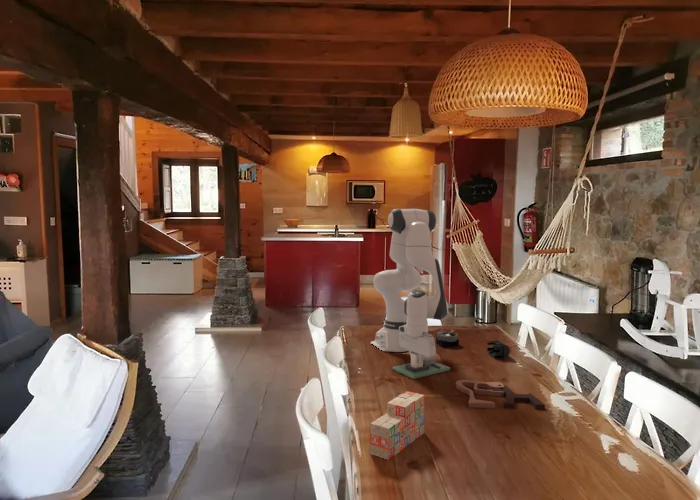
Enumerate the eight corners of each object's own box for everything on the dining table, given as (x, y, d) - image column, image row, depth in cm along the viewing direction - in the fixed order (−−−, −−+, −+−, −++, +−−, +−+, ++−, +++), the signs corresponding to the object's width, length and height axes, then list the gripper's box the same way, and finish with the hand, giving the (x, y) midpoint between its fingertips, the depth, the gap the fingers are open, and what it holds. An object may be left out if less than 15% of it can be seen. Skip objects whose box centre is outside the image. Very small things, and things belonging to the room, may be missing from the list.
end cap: (510, 359, 234) (510, 344, 234) (495, 359, 233) (495, 345, 233) (501, 352, 244) (501, 338, 243) (486, 353, 243) (486, 339, 243)
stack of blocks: (388, 461, 141) (388, 417, 140) (369, 455, 145) (369, 412, 144) (424, 433, 159) (425, 394, 158) (406, 428, 162) (407, 390, 161)
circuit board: (392, 369, 220) (392, 360, 219) (428, 361, 230) (428, 353, 230) (413, 378, 208) (413, 369, 207) (450, 370, 218) (450, 361, 218)
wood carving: (545, 411, 176) (528, 386, 199) (545, 405, 176) (528, 381, 199) (461, 408, 179) (454, 384, 202) (462, 402, 179) (454, 379, 202)
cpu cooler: (461, 335, 254) (441, 336, 252) (460, 347, 255) (441, 348, 253) (453, 330, 264) (434, 331, 262) (452, 341, 265) (434, 342, 263)
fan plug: (410, 367, 216) (410, 353, 216) (419, 365, 219) (419, 351, 218) (415, 369, 214) (415, 354, 213) (423, 367, 216) (423, 353, 216)
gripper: (439, 334, 208) (439, 367, 209) (407, 324, 225) (407, 355, 226) (427, 336, 204) (427, 370, 206) (396, 326, 222) (396, 357, 223)
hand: (416, 362), depth 216 cm, fingers closed on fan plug, 3 cm apart
